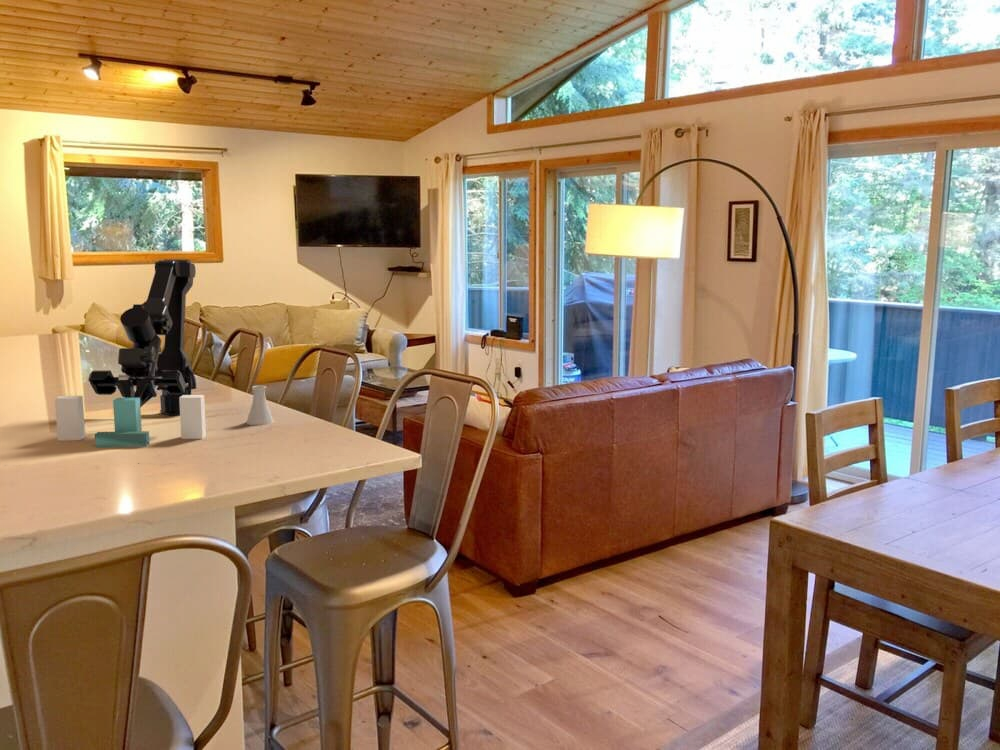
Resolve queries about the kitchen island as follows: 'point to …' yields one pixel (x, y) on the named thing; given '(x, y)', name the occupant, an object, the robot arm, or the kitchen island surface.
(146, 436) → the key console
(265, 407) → the flask
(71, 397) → the grey key
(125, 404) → the teal key
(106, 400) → the kitchen island surface
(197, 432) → the grey key
